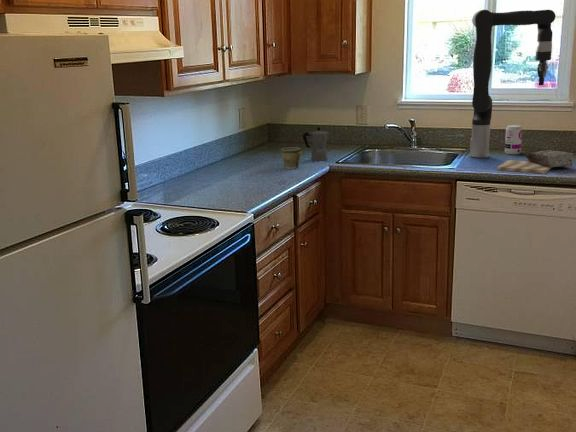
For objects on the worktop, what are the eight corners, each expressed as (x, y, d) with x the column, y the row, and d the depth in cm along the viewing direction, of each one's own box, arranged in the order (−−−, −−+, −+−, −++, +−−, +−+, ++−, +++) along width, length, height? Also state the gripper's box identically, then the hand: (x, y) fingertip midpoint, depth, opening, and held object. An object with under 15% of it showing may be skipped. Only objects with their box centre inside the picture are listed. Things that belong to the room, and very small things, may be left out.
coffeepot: (329, 158, 348) (328, 125, 343) (333, 161, 339) (332, 127, 334) (301, 159, 345) (301, 127, 341) (305, 162, 336) (304, 129, 332)
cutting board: (497, 169, 303) (497, 166, 303) (507, 162, 319) (508, 159, 319) (545, 173, 292) (545, 170, 291) (553, 166, 308) (554, 163, 307)
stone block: (549, 146, 316) (573, 151, 297) (549, 159, 318) (574, 165, 299) (525, 150, 314) (548, 156, 295) (525, 164, 316) (549, 170, 297)
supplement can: (521, 152, 346) (523, 125, 342) (518, 155, 339) (520, 127, 335) (506, 151, 350) (508, 124, 346) (503, 154, 343) (504, 126, 339)
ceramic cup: (277, 168, 322) (277, 149, 320) (288, 165, 330) (288, 146, 328) (299, 171, 315) (298, 151, 313) (309, 167, 323) (309, 148, 320)
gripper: (538, 50, 329) (536, 84, 333) (533, 51, 318) (530, 86, 323) (554, 50, 325) (551, 84, 329) (548, 50, 314) (546, 86, 319)
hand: (541, 85), depth 326 cm, fingers closed
